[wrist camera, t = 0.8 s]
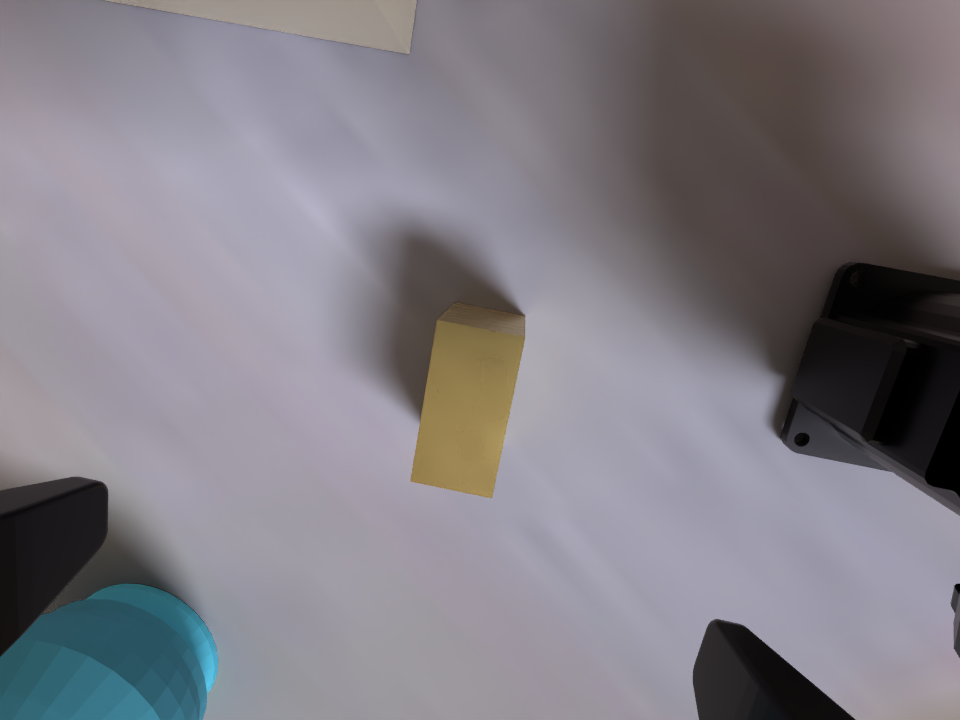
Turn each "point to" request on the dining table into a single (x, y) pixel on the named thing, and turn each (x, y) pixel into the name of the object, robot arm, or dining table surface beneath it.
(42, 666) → the perfume bottle
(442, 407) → the wooden block
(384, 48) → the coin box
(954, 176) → the dining table surface
